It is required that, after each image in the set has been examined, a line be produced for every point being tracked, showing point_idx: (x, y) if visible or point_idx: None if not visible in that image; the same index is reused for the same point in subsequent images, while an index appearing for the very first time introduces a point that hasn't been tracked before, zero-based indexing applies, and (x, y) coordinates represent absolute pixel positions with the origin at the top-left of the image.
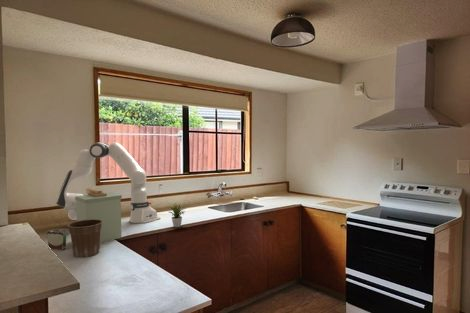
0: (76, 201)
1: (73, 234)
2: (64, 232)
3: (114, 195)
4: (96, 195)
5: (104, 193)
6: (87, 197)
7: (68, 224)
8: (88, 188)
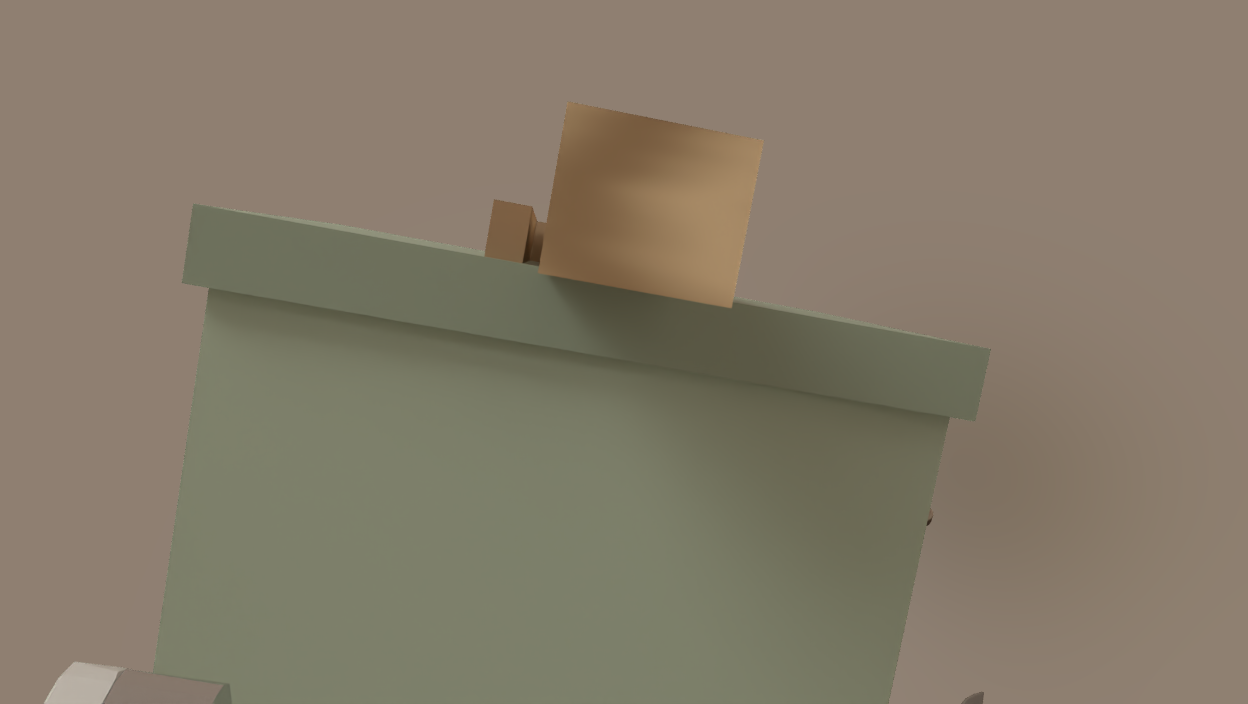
0: (940, 452)
1: None
2: (971, 700)
3: (412, 238)
4: None
5: (537, 221)
6: (773, 305)
7: (929, 516)
8: (679, 129)
